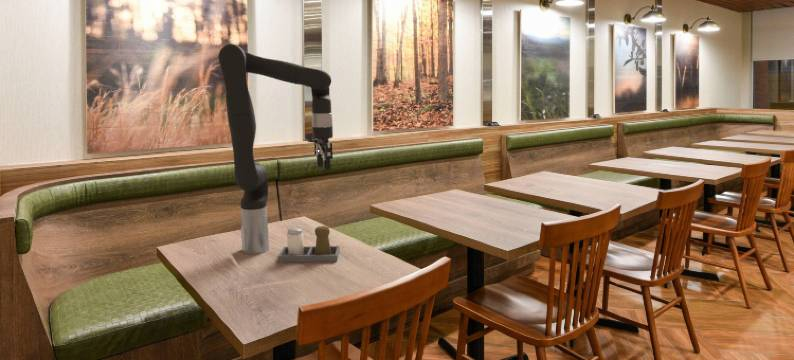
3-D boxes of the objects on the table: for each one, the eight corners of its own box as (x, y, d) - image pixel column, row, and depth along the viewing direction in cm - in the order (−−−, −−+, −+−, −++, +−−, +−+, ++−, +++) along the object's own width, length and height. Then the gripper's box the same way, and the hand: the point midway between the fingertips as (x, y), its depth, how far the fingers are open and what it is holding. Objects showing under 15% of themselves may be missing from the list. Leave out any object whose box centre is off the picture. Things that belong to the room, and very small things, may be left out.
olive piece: (328, 259, 192) (327, 229, 190) (312, 258, 193) (311, 228, 191) (333, 254, 198) (332, 224, 196) (317, 253, 199) (316, 224, 197)
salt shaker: (290, 260, 191) (289, 232, 189) (286, 255, 196) (285, 228, 194) (306, 258, 194) (304, 230, 192) (301, 253, 199) (300, 226, 197)
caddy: (278, 264, 190) (278, 256, 189) (284, 254, 200) (283, 246, 200) (337, 263, 190) (337, 255, 190) (339, 253, 201) (339, 246, 200)
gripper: (306, 124, 207) (308, 166, 210) (318, 127, 195) (320, 172, 198) (325, 123, 210) (327, 164, 213) (338, 126, 198) (339, 170, 201)
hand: (323, 168), depth 206 cm, fingers open, 8 cm apart
